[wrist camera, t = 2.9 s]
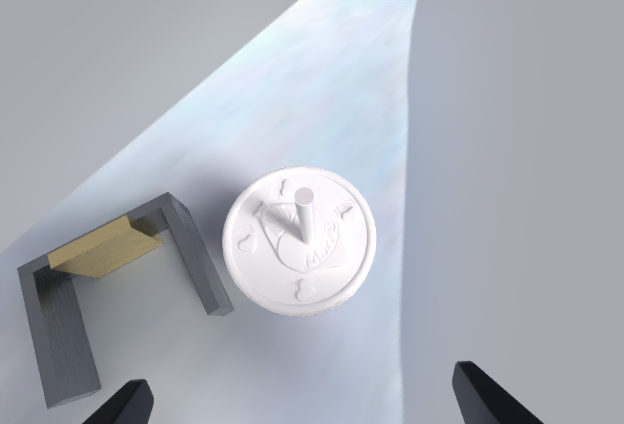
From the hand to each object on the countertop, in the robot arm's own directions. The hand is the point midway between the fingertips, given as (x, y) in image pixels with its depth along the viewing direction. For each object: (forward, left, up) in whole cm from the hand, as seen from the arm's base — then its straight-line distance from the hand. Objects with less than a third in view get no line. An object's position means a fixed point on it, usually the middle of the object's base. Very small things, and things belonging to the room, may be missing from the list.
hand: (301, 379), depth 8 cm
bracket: (-2, +12, -11) cm, 17 cm away
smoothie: (+4, +2, -12) cm, 13 cm away
